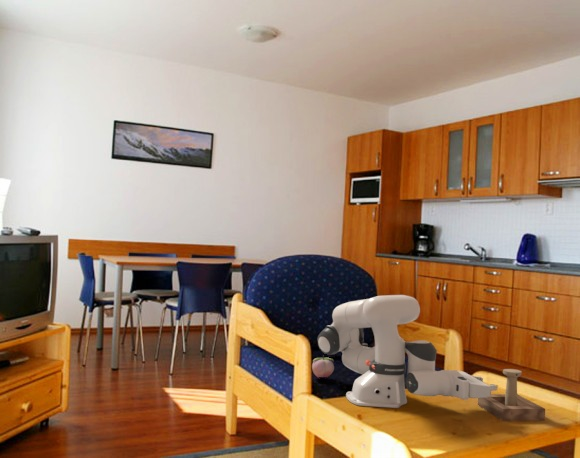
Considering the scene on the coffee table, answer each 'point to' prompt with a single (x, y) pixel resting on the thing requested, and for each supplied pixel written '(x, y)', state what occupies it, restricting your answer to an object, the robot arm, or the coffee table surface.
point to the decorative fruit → (322, 367)
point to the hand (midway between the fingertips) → (488, 383)
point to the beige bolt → (511, 386)
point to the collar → (512, 408)
